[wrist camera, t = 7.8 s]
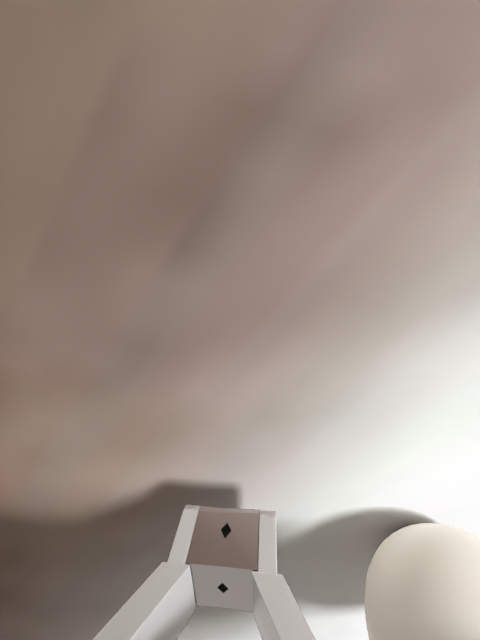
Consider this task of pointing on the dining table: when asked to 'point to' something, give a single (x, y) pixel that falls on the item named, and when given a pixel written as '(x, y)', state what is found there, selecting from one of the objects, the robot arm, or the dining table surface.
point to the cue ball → (424, 585)
